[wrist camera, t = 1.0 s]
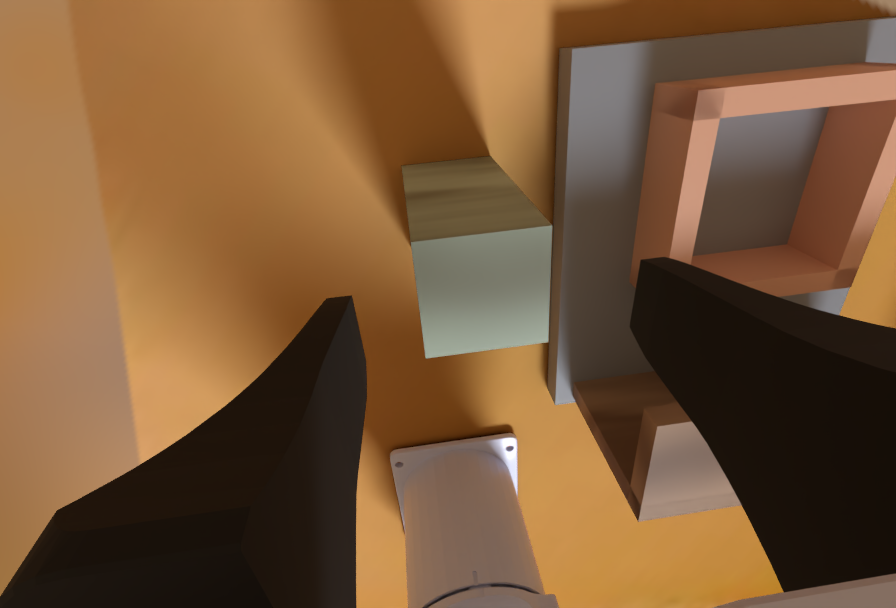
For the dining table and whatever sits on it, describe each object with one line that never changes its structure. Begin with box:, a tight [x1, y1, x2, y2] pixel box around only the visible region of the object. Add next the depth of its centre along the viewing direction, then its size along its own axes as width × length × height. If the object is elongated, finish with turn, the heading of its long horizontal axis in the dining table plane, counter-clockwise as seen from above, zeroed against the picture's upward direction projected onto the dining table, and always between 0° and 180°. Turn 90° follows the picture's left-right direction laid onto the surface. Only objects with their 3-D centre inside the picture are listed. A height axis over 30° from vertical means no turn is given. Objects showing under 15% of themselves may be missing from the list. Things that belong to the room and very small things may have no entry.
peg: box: [402, 156, 552, 359], centre depth 18 cm, size 4×4×9 cm
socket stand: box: [547, 16, 896, 405], centre depth 22 cm, size 18×16×4 cm
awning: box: [573, 371, 741, 522], centre depth 22 cm, size 6×14×8 cm, turn 95°
